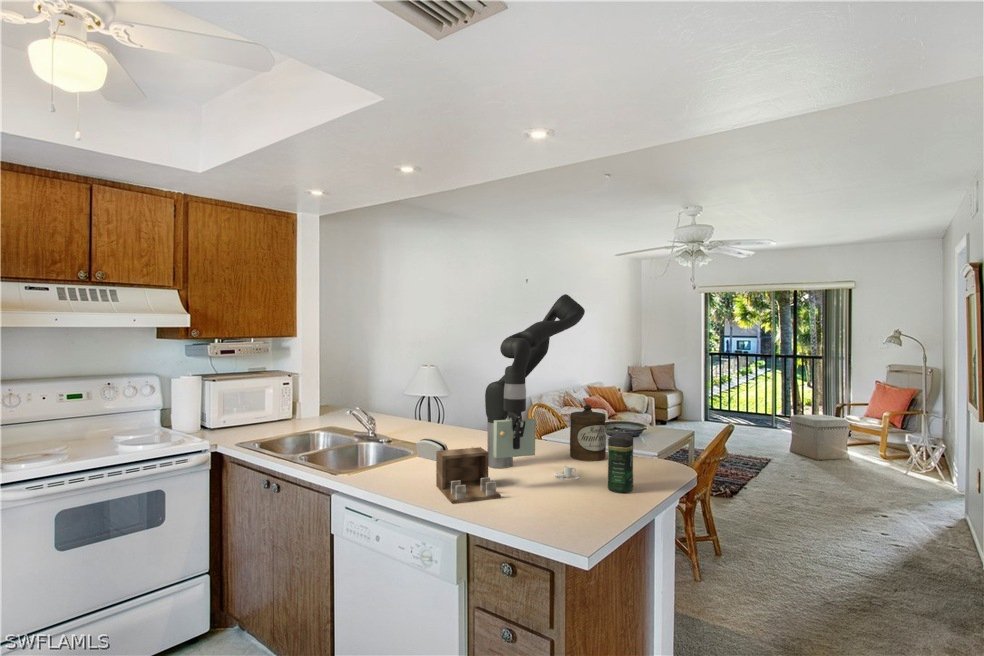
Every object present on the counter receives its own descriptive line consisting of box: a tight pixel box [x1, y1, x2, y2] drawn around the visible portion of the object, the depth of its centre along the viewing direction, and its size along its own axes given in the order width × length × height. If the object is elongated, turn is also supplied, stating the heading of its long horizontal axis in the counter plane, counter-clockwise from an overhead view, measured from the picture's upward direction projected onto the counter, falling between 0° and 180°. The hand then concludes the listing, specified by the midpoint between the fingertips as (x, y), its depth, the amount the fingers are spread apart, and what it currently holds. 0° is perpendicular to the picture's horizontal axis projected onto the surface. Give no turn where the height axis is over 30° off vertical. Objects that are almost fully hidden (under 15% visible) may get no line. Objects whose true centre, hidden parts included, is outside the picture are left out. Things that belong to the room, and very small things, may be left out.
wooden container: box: [569, 404, 607, 462], centre depth 220 cm, size 15×15×22 cm
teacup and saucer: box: [553, 465, 580, 481], centre depth 190 cm, size 9×8×4 cm
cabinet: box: [435, 446, 502, 504], centre depth 172 cm, size 16×20×12 cm
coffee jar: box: [607, 432, 634, 494], centre depth 175 cm, size 10×8×19 cm
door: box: [493, 418, 536, 458], centre depth 176 cm, size 14×4×12 cm, turn 109°
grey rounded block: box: [415, 437, 449, 462], centre depth 215 cm, size 17×5×10 cm, turn 50°
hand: (514, 447), depth 177 cm, fingers closed on door, 3 cm apart
